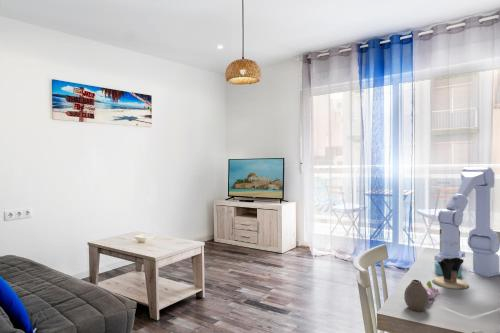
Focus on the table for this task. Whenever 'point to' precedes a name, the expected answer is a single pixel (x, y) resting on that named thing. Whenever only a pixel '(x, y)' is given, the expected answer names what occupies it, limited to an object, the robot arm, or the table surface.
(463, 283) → the lid
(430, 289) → the rabbit figure
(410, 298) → the vase
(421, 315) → the table surface
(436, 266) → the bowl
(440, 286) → the mat
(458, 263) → the robot arm
